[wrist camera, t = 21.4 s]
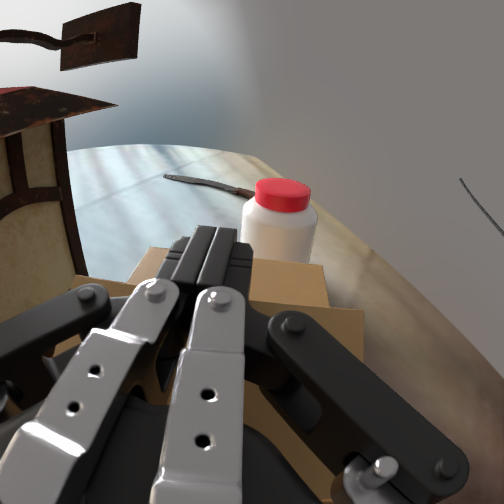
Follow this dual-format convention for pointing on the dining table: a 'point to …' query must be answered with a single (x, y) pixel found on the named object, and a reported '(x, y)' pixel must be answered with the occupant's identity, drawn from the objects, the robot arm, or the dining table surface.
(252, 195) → the knife
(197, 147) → the dining table surface
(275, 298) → the carton
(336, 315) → the flap
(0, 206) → the lantern
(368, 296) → the dining table surface
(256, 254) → the pill bottle
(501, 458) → the dining table surface
